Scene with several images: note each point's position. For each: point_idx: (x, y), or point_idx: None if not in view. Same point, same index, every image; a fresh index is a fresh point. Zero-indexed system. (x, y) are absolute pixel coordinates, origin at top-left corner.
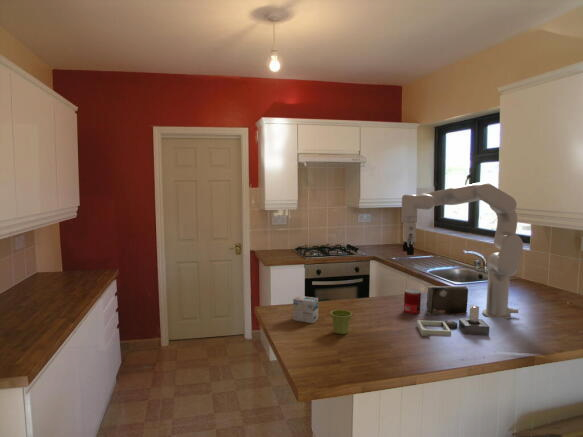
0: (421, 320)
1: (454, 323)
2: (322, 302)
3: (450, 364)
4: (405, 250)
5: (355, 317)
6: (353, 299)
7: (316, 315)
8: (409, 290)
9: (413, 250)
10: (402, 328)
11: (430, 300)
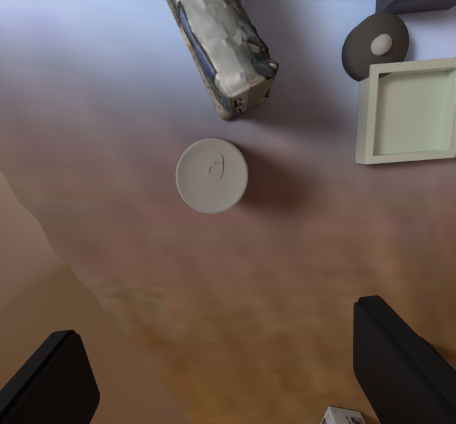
0: (366, 150)
1: (383, 24)
2: (189, 411)
3: None
4: (87, 386)
5: (301, 328)
6: (133, 341)
7: (346, 421)
8: (195, 190)
9: (425, 350)
10: (379, 208)
11: (258, 96)
